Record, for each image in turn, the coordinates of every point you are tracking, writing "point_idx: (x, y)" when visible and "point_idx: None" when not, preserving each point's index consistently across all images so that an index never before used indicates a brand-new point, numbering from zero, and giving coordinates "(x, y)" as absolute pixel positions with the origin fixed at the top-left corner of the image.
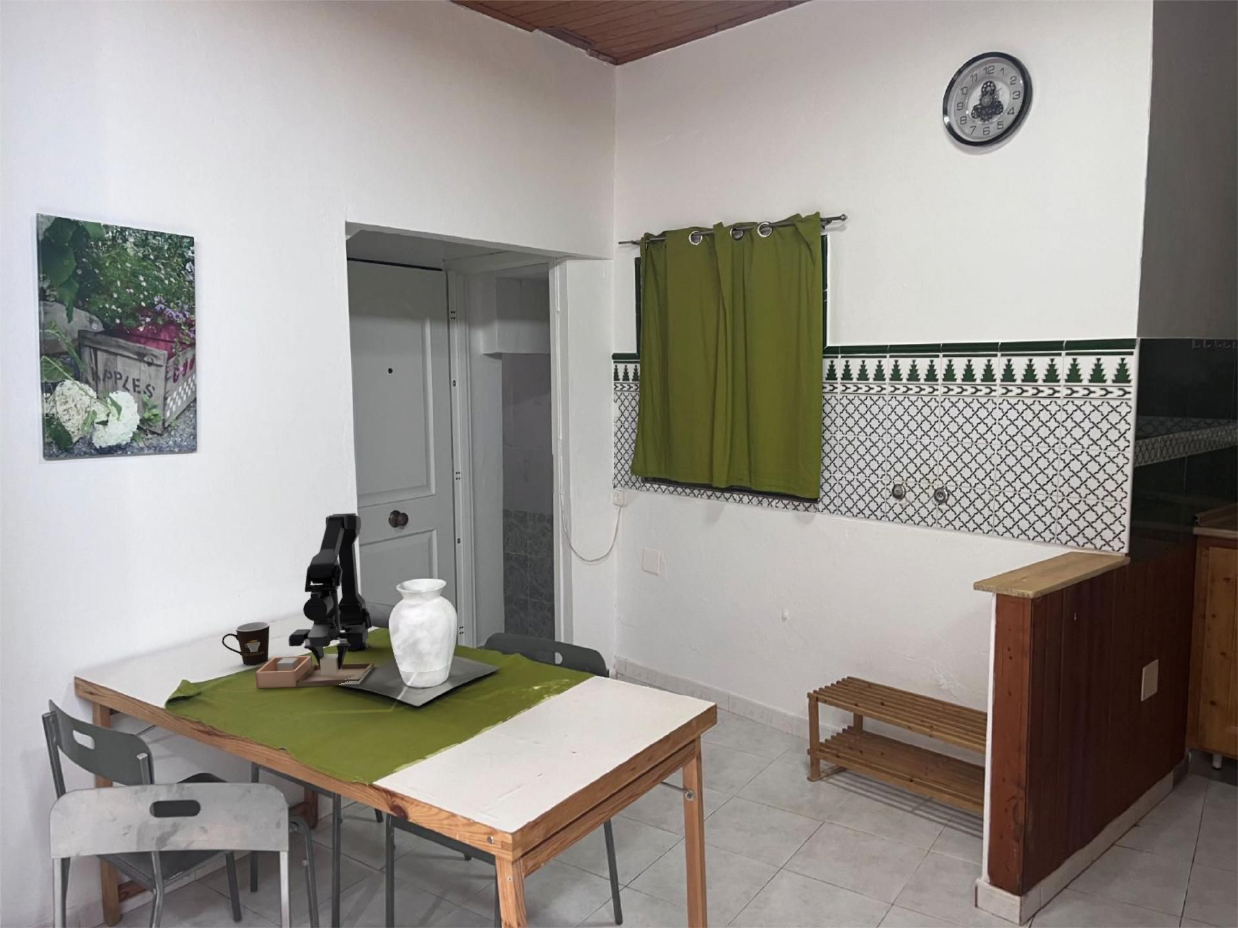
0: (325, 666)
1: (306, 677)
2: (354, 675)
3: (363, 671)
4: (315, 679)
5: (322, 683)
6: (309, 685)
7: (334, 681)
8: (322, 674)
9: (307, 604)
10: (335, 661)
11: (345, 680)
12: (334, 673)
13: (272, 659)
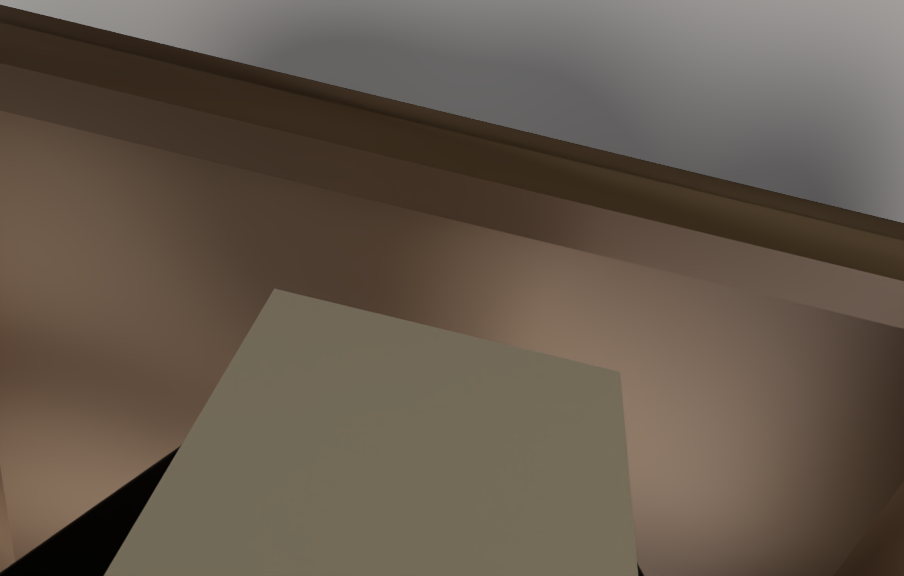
0: (494, 481)
1: (849, 569)
2: (141, 433)
3: (69, 523)
4: (713, 478)
5: (592, 181)
6: (845, 229)
7: (339, 133)
8: (588, 368)
9: None
10: (148, 516)
11: (103, 86)
12: (318, 309)
13: None
